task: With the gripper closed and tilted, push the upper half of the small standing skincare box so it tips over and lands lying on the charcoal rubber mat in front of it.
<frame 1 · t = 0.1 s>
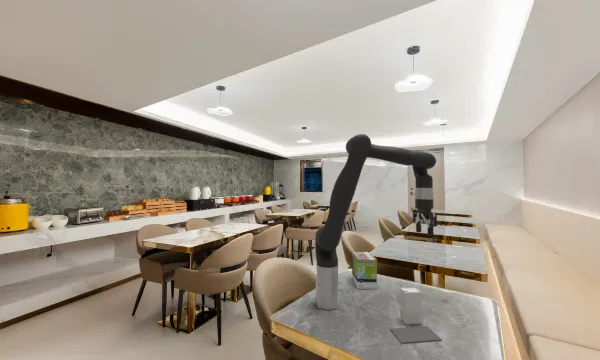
hand: (424, 234, 115), 29 cm above the table, tool pointing down, fingers open, 8 cm apart
tea box: (363, 283, 133), on the table
skincare box: (410, 322, 96), on the table
mat: (415, 335, 88), on the table
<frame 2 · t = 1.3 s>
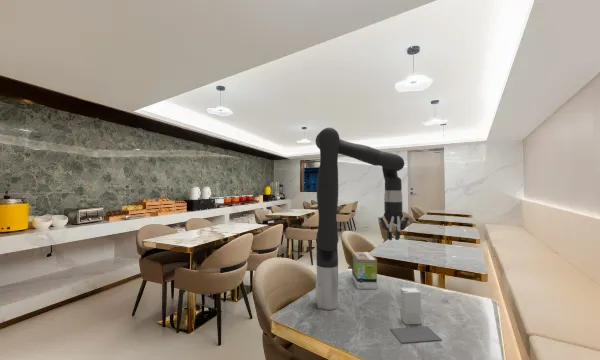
hand: (393, 239, 113), 27 cm above the table, tool pointing down, fingers closed
nothing on the table moved.
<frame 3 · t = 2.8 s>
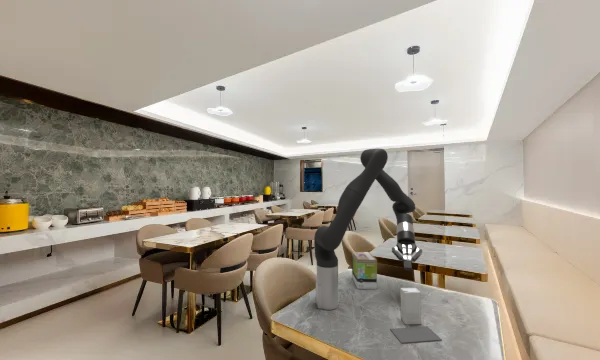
hand: (408, 269, 106), 16 cm above the table, tool tilted 45°, fingers closed
nothing on the table moved.
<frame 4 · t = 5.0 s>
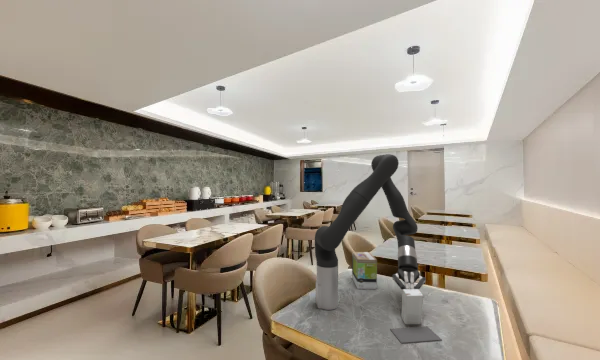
hand: (410, 300, 97), 7 cm above the table, tool tilted 45°, fingers closed
skincare box: (410, 321, 96), on the table, touching gripper
everything else where it was.
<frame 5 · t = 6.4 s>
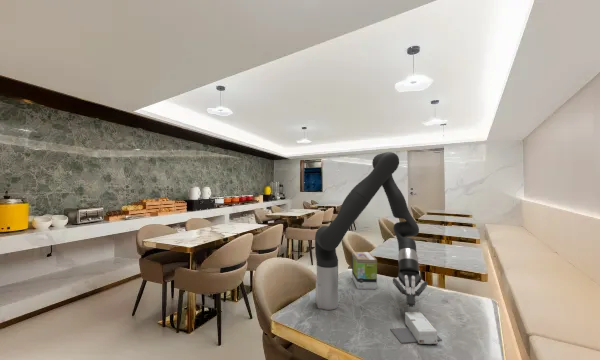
hand: (411, 305, 93), 7 cm above the table, tool tilted 45°, fingers closed
skincare box: (412, 317, 94), point 2 cm above the table, touching mat
everything else where it was.
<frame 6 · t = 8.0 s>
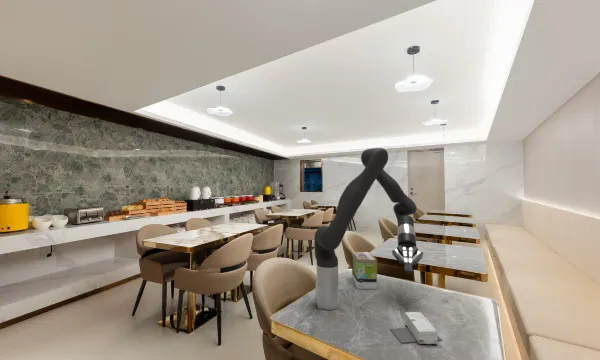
hand: (408, 272, 104), 16 cm above the table, tool tilted 45°, fingers closed
nothing on the table moved.
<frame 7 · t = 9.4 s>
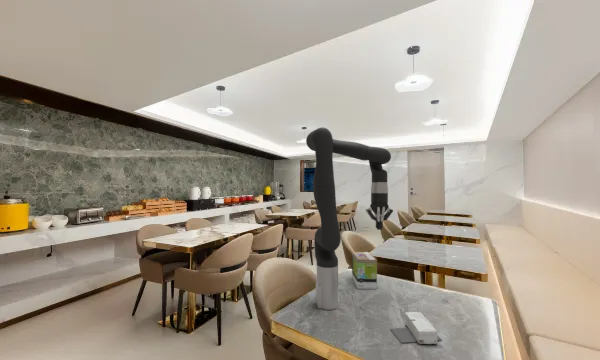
hand: (379, 229, 119), 31 cm above the table, tool pointing down, fingers closed
nothing on the table moved.
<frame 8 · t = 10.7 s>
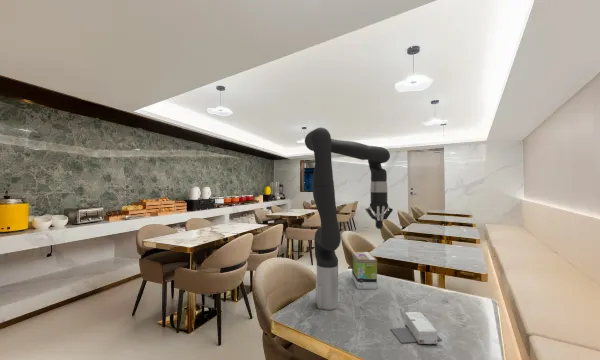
hand: (379, 228, 119), 31 cm above the table, tool pointing down, fingers closed
nothing on the table moved.
at the end: skincare box tilted 89°; skincare box inside the target area (4.6 cm from its centre), point 2.4 cm above the table; skincare box touching mat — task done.
